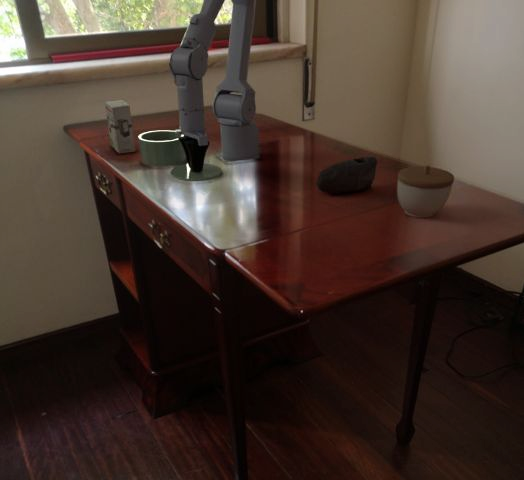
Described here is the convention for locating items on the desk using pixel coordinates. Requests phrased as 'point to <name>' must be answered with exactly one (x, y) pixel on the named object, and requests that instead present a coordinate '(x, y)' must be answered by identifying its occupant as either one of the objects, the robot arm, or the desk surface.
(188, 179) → the lid
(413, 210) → the trinket box
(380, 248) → the desk surface
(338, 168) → the perforated stone tool
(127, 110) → the ink box
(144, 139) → the bowl
